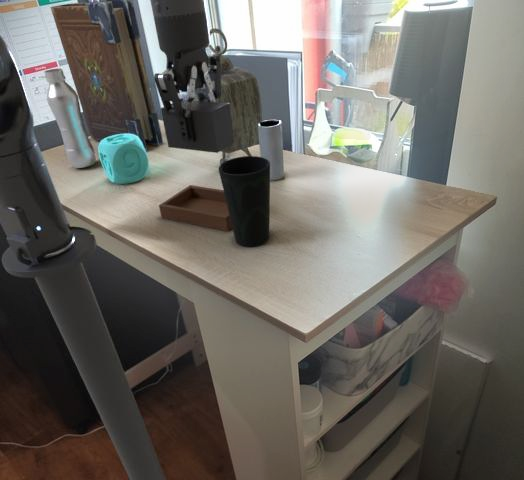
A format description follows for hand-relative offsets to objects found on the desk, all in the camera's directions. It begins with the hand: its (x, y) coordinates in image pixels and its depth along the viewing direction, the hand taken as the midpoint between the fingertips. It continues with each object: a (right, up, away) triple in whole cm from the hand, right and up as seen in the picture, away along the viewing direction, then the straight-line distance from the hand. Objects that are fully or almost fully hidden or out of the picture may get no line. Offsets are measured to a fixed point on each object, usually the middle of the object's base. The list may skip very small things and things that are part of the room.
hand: (200, 135), depth 77 cm
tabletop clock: (+3, +6, +28) cm, 29 cm away
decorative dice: (-19, +3, +27) cm, 33 cm away
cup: (+9, -17, 0) cm, 19 cm away
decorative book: (-26, +19, +47) cm, 57 cm away
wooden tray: (0, -10, +9) cm, 14 cm away
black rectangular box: (0, -1, +1) cm, 2 cm away
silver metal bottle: (-32, +8, +35) cm, 48 cm away
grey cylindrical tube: (+12, 0, +20) cm, 23 cm away
